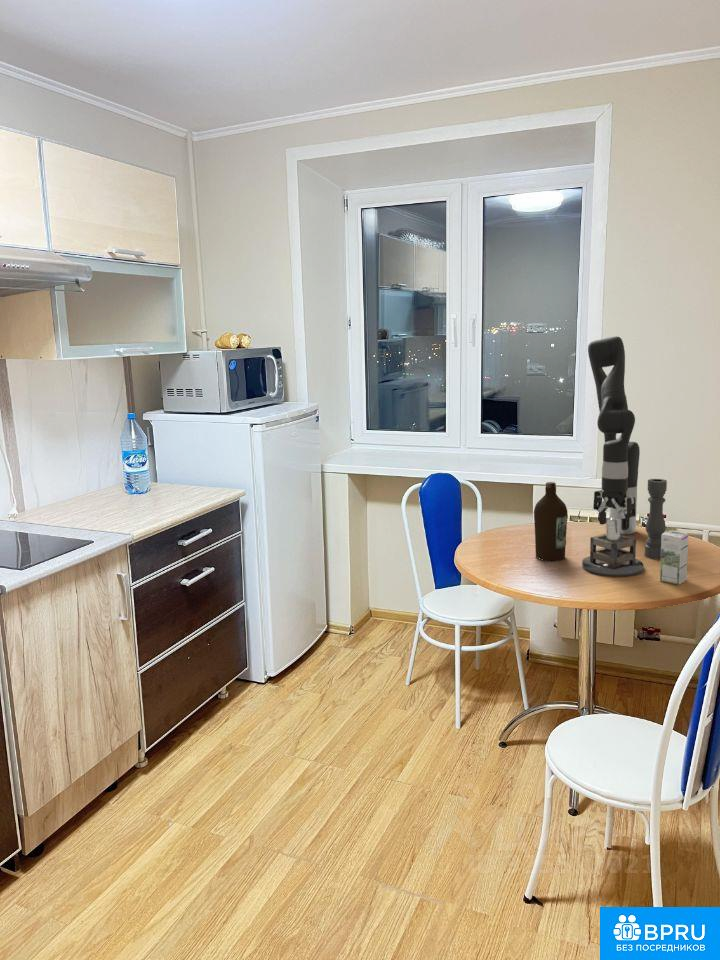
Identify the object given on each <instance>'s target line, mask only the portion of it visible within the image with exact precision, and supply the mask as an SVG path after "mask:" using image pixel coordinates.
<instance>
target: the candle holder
mask: <svg viewBox="0 0 720 960" xmlns="http://www.w3.org/2000/svg"><path fill="white" fill-rule="evenodd" d="M667 486H668V481H667V480H666V479H664V478H649V479H647V491H648V492H647V493H648V494H649V496H650V497H648V498H647V501H648V502H649V513H648V517H647V520H646V522H645V523H646V524H645V531H646V533H647V536H648V537H647V538H646V540H645V544H644V557H646V558H647V559H648V558H649V559H654V560H656V559H657V560H658V559H660V560H661V536H662V534H663V533H664V532H666V531H667V530H666V528H667V526H666V522H665V518H664V513H663V512H664V511H663V510H664V509H663V506H664V503H665V502H666V498H665V497H664V496H665V494H666V492H667Z"/></svg>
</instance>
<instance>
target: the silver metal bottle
mask: <svg viewBox="0 0 720 960" xmlns="http://www.w3.org/2000/svg"><path fill="white" fill-rule="evenodd" d="M605 526H606V528H605V529H606V530H605V534H606V540H607V541H610V542H614V543H615V542H619V541H620V535H621V534H620V518H615V517H610V518H609V517H606V524H605ZM605 550H606V555H609V556H611V549H607V548H605ZM619 551H620V549H619V550H617V556H619ZM607 564H610V563H607Z"/></svg>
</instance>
